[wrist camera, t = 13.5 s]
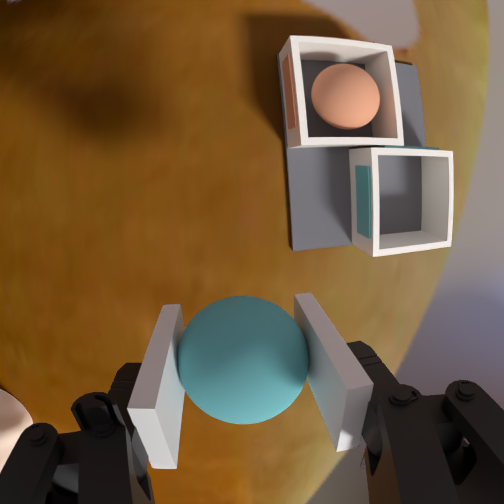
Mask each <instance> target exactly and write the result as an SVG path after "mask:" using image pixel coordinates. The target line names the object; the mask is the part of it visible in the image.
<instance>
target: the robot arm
mask: <svg viewBox="0 0 504 504" xmlns="http://www.w3.org/2000/svg"><path fill="white" fill-rule="evenodd" d="M294 320H295V322H296V323H297V324H298V326H299V328H300V329H301V331H302V333H303V335H304V338H305V340H306V343H307V348H308V354H309V366H308V373H307V377H306V378H307V380H308V383H309V385H310V388H311V390H312V393H313V395H314V398H315V400H316V403H317V405H318V408H319V410H320V413H321V415H322V417H323V420H324V422H325V425H326V427H327V430H328V432H329V435H330V437H331V440H332V442H333V445H334V447H335V450H336V452H339V451H343V450H347V449H351V448H355V447H359V444H360V441H361V437H362V436H363V439H364V440H365V442H366V444H367V445H366V449H365V452H364V455H363V458H362V462H361V466H360V468H364V465H365V464H366V473H367V482H368V491H369V502H370V504H504V410H503V409H502V408H501V407H500V406H499V405H498V404H497V403H496V402H495V401H494V400H493V399H492V398H491V397H490V396H489V395H488V394H487V393H486V392H485V391H484V390H483V389H482V388H481V387H480V386H478V385H477V384H476V383H474V382H471V381H468V380H459V381H454V382H452V383H451V384H449V386H448V387H447V389H446V391H445V394H442V395H430V396H423V395H421V394H420V392H419V391H418V390H416V389H415V388H414V387H412V386H408V385H404V384H399V382H398V381H397V380H396V378H395V377H394V376H393V375H392V373H391V372H390V371H389V369H388V368H387V367H386V366H385V364H384V363H382V361H381V359H380V358H379V357H378V356H377V354H376V353H375V352H374V350H373V349H372V348H371V347H370V346H368V345H367V344H365V343H363V342H361V341H356V342H350V343H346V342H345V341H344V340H343V338H342V337H341V335H340V334H339V332H338V331H337V329H336V328H335V326H334V325H333V324H332V322H331V321H330V319H329V318H328V316H327V315H326V313H325V312H324V311H323V309H322V308H321V306H320V305H319V303H318V302H317V301H316V299H315V298H314V296H313V295H312V293H304V294H294ZM183 332H184V324H183V318H182V312H181V305H180V304H172V305H163V307H162V310H161V312H160V315H159V318H158V320H157V323H156V326H155V328H154V331H153V334H152V337H151V339H150V342H149V345H148V348H147V351H146V353H145V356H144V359H143V362H142V363H126V364H125V365H123V366H122V367H121V368H120V369H119V370H118V371H117V374H116V376H115V378H114V382H113V383H112V385H111V389H110V390H109V392H108V394H107V393H104V392H93V393H88V394H85V395H83V396H81V397H79V398H78V399H77V400H76V401H75V402H74V403H73V405H72V407H71V411H72V413H73V415H74V417H75V419H76V421H77V423H78V425H79V427H80V429H81V430H82V431H77V432H71V433H63V434H58V432H57V430H56V429H55V428H54V427H53V426H52V425H50V424H47V423H36V424H32V425H30V426H29V427H27V428H26V429H25V430H24V431H23V432H22V433H21V435H20V437H19V438H18V440H17V442H16V444H15V446H14V448H13V449H12V451H11V453H10V455H9V457H8V459H7V461H6V463H5V464H4V466H3V468H2V470H1V472H0V504H155V501H154V495H153V490H152V485H151V479H150V477H149V474H148V472H147V470H146V469H147V464H148V459H149V461H150V463H151V465H152V468H160V469H177V458H178V448H179V438H180V428H181V419H182V410H183V401H184V393H185V389H184V387H183V385H182V383H181V380H180V377H179V372H178V362H177V353H178V346H179V342H180V340H181V337H182V334H183ZM465 438H466V439H467V440H468V442H469V443H470V444H467V443H466V442H465V440H464V439H465Z"/></svg>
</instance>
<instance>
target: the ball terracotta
mask: <svg viewBox="0 0 504 504" xmlns="http://www.w3.org/2000/svg"><path fill="white" fill-rule="evenodd" d="M311 97H312V102H313V106H314V108H315V110H316V112H317V113H318V115H319V116H320V117H321V118H322V119H323V120H324V121H325V122H327V123H328V124H330V125H332V126H334V127H336V128H340V129H347V130H349V129H357V128H360V127H362V126H364V125H366V124H367V123H369V122H370V121H371V120H372V119H373V118H374V116H375V115H376V113H377V111H378V108H379V103H380V94H379V90H378V87H377V85H376V83H375V81H374V80H373V78H372V77H371V76H370V75H369V74H368V73H367V72H366V71H364V70H363V69H361V68H359V67H357V66H354V65H351V64H336V65H332V66H330V67H327V68H326V69H324V70H323V71H322V72H321V73H320V74H319V75H318V76H317V77H316V79H315V81H314V83H313V86H312V91H311Z"/></svg>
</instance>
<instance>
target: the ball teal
mask: <svg viewBox="0 0 504 504" xmlns="http://www.w3.org/2000/svg"><path fill="white" fill-rule="evenodd" d="M177 362H178V372H179V377H180V380H181V383H182V385H183V387H184V389H185V391H186V393H187V394H188V396H189V397H190V398H191V400H192V401H193V402H194V403H195V404H196V405H197V406H198V407H199V408H200V409H202V410H203V411H204V412H205V413H207V414H209V415H210V416H212V417H214V418H216V419H219V420H222V421H225V422H229V423H235V424H252V423H258V422H262V421H265V420H268V419H270V418H272V417H274V416H276V415H278V414H279V413H281V412H282V411H284V410H285V409H286V408H287V407H288V406H290V405H291V404H292V402H293V401H294V400H295V399H296V397H297V396H298V395H299V393H300V392H301V390H302V387H303V385H304V383H305V381H306V377H307V373H308V366H309V354H308V348H307V343H306V340H305V338H304V335H303V333H302V331H301V329H300V328H299V326H298V324H297V323H296V322H295V320H294V319H293V318H292V317H291V316H290V315H289V314H288V313H287V312H286V311H284V310H283V309H282V308H280V307H279V306H277V305H275V304H274V303H272V302H269V301H267V300H264V299H261V298H257V297H251V296H234V297H228V298H224V299H221V300H218V301H216V302H214V303H212V304H210V305H208V306H207V307H205V308H204V309H202V310H201V311H200V312H198V313H197V314H196V315H195V316H194V317H193V319H192V320H191V321H190V322H189V324H188V325H187V327H186V328H185V330H184V332H183V334H182V337H181V340H180V342H179V346H178V353H177Z"/></svg>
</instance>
